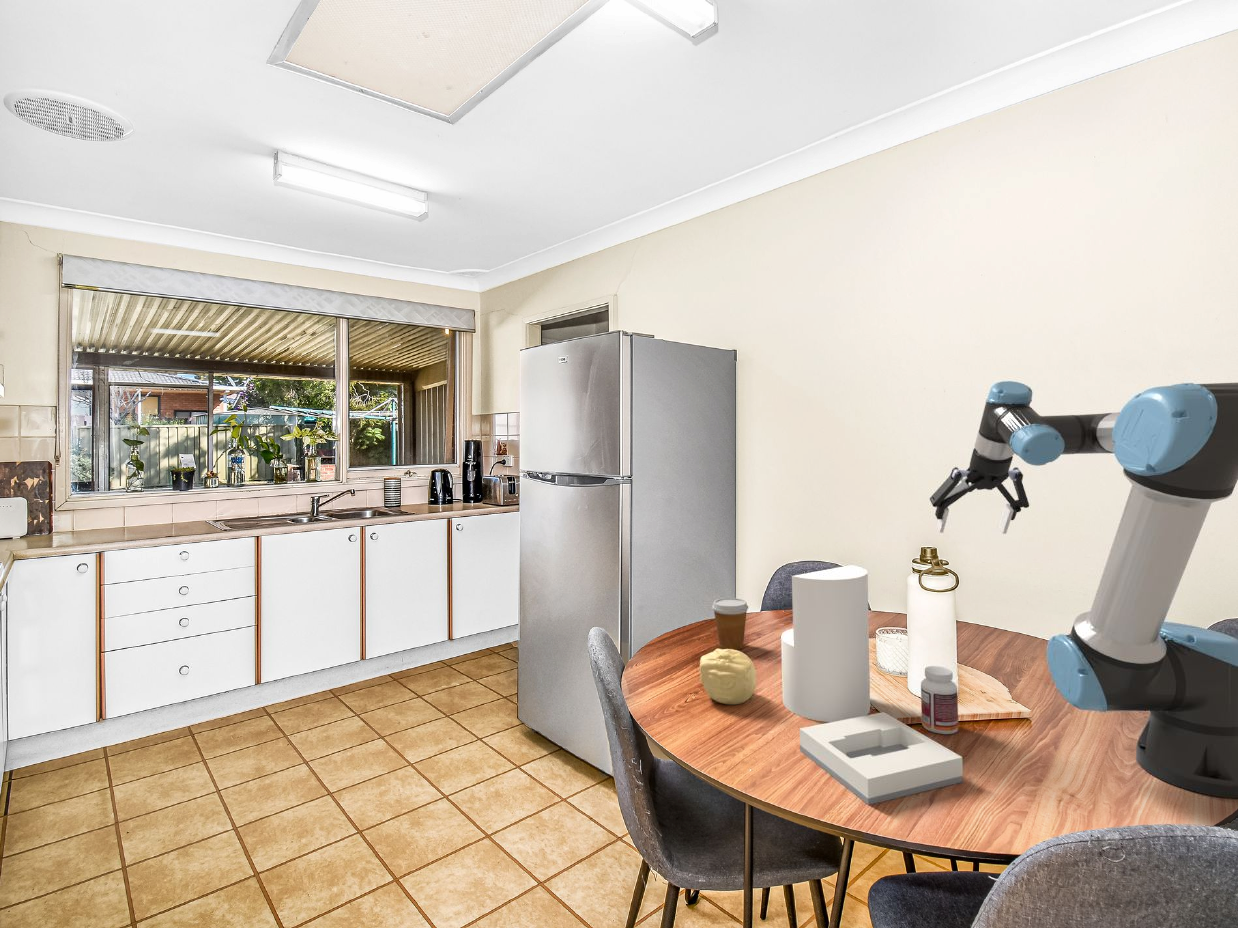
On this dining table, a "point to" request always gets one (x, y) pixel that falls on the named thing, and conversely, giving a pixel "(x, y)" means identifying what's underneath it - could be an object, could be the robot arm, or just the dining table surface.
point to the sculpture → (728, 676)
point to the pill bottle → (939, 701)
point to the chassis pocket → (880, 757)
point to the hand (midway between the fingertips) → (970, 529)
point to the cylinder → (828, 646)
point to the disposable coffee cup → (730, 622)
